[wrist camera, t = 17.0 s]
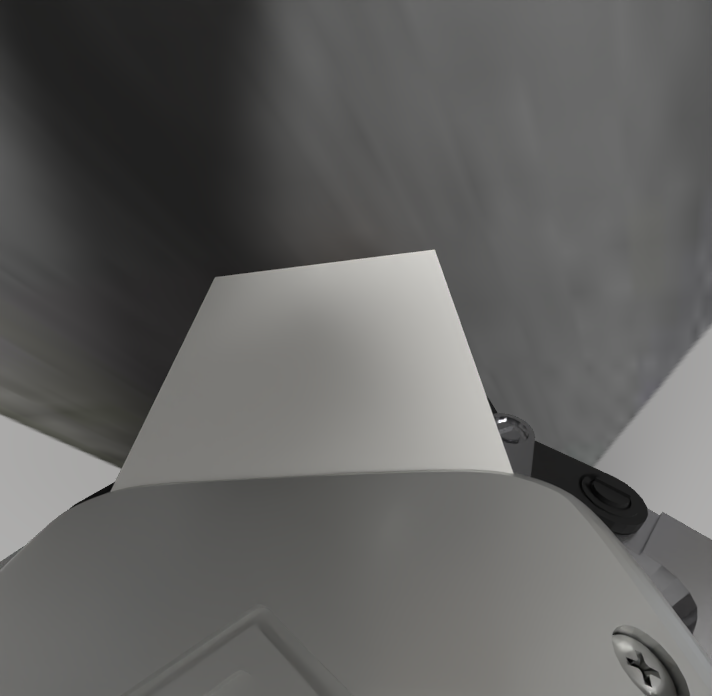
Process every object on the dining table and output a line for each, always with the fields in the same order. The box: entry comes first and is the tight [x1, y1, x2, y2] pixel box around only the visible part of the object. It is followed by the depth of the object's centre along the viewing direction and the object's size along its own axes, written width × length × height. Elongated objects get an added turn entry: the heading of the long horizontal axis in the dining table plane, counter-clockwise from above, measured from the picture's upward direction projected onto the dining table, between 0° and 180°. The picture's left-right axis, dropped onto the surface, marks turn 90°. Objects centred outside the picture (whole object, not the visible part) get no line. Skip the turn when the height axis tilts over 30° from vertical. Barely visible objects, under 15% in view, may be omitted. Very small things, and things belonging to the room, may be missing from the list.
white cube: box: [110, 250, 514, 492], centre depth 10 cm, size 8×8×8 cm
